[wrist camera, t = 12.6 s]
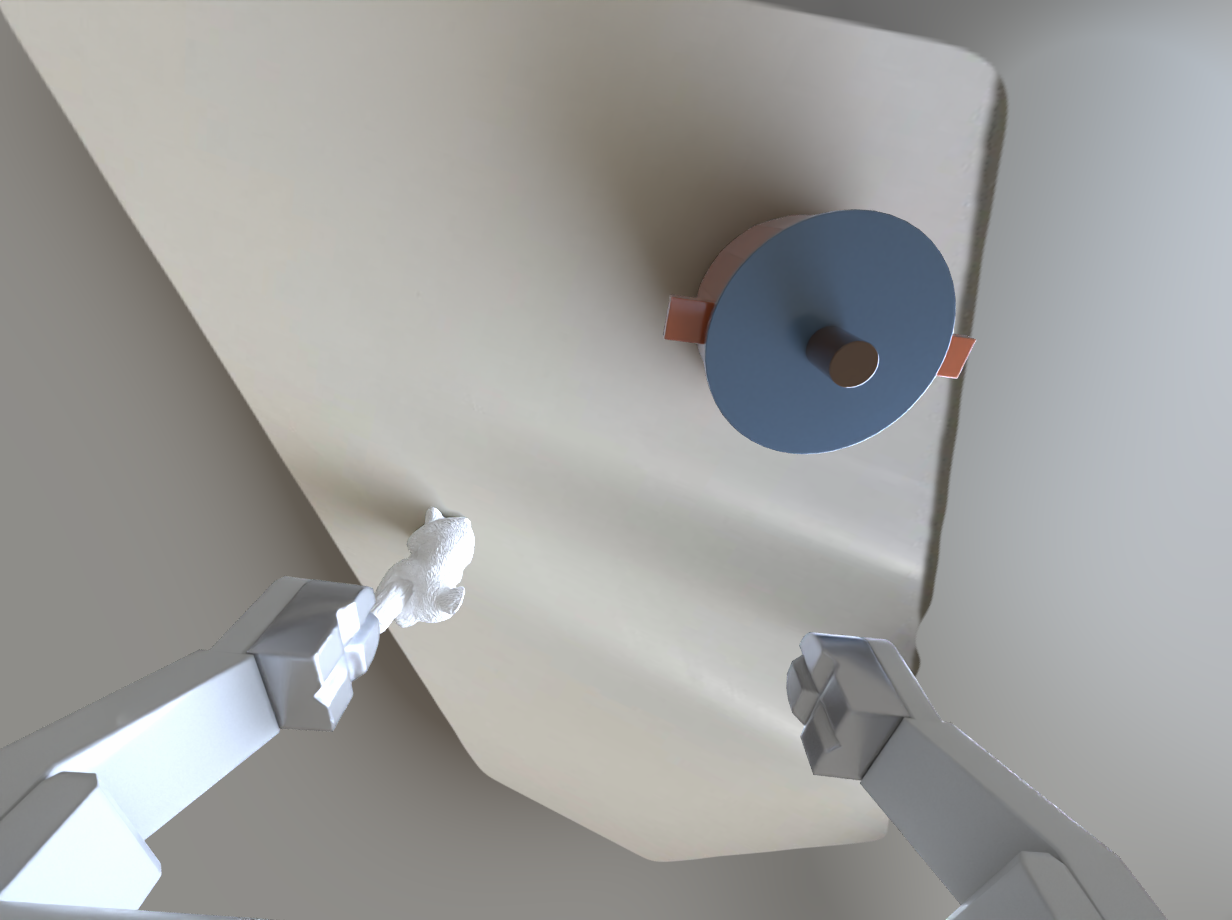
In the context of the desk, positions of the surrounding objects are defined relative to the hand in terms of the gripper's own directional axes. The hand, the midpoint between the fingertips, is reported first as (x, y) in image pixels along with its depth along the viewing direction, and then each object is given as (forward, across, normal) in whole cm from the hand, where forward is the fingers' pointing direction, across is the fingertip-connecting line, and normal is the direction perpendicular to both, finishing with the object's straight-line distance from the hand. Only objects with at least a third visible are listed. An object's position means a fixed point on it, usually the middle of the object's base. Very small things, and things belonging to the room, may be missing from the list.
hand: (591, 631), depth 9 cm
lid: (+20, -12, -2) cm, 24 cm away
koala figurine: (+29, +13, +21) cm, 38 cm away
